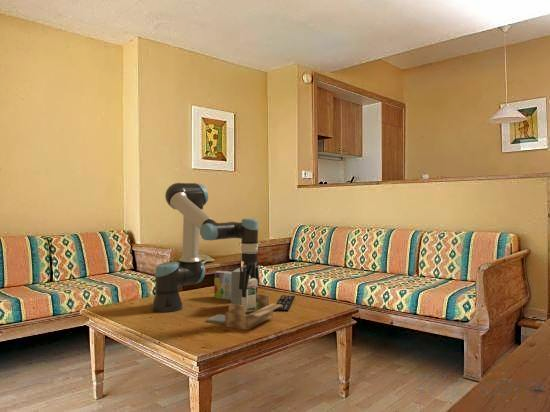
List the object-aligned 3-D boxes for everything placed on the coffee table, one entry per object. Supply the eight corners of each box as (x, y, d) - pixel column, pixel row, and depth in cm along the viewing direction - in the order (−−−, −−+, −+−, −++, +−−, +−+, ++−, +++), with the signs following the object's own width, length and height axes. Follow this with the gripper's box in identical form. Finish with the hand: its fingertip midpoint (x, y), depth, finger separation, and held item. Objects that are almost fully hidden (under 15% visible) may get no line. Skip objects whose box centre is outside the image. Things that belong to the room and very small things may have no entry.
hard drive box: (245, 312, 218) (245, 272, 217) (230, 311, 219) (230, 271, 219) (253, 304, 233) (253, 267, 233) (239, 304, 235) (239, 266, 234)
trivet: (206, 321, 201) (206, 319, 201) (218, 316, 210) (218, 314, 210) (224, 324, 197) (224, 321, 197) (236, 318, 206) (236, 316, 206)
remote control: (295, 298, 249) (295, 295, 249) (288, 313, 218) (288, 309, 218) (281, 298, 251) (281, 294, 250) (272, 312, 219) (272, 308, 219)
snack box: (250, 300, 244) (249, 273, 243) (244, 302, 239) (244, 274, 239) (219, 296, 255) (219, 270, 254) (213, 298, 250) (213, 271, 250)
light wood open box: (225, 326, 193) (225, 303, 193) (251, 313, 214) (251, 293, 214) (258, 331, 186) (258, 307, 186) (282, 317, 207) (282, 296, 207)
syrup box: (246, 312, 197) (246, 280, 197) (241, 309, 203) (241, 278, 202) (257, 310, 200) (257, 279, 200) (252, 307, 205) (252, 277, 205)
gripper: (245, 255, 190) (245, 308, 190) (267, 250, 208) (267, 298, 209) (230, 254, 193) (230, 306, 194) (253, 249, 211) (253, 296, 212)
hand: (249, 302), depth 201 cm, fingers closed on syrup box, 8 cm apart
